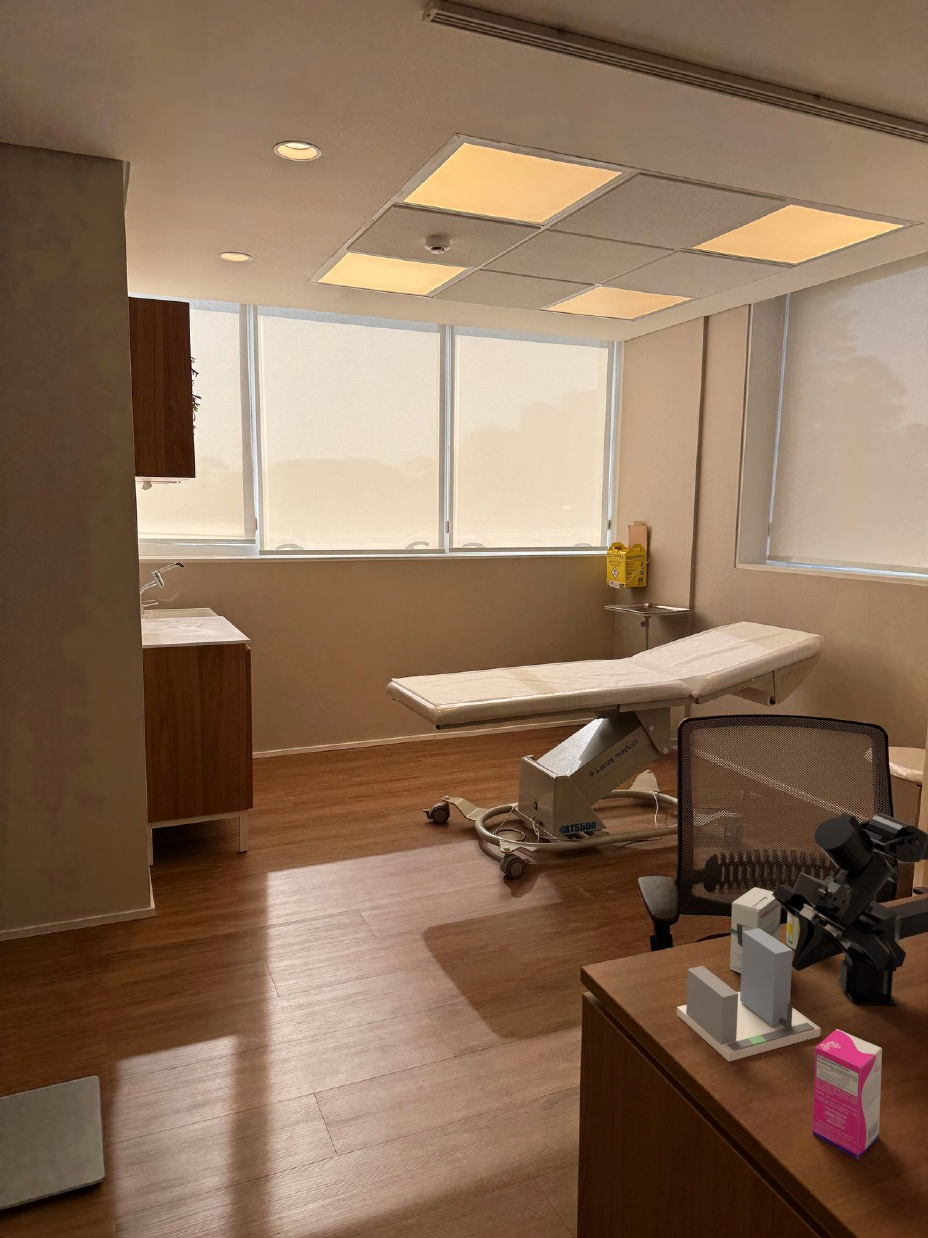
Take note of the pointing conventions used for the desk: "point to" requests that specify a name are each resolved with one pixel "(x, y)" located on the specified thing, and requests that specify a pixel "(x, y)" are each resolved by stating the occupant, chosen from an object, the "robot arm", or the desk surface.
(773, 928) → the ink box
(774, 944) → the block
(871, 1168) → the desk surface
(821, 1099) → the supplement box
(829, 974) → the desk surface
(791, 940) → the supplement bottle
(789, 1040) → the base
